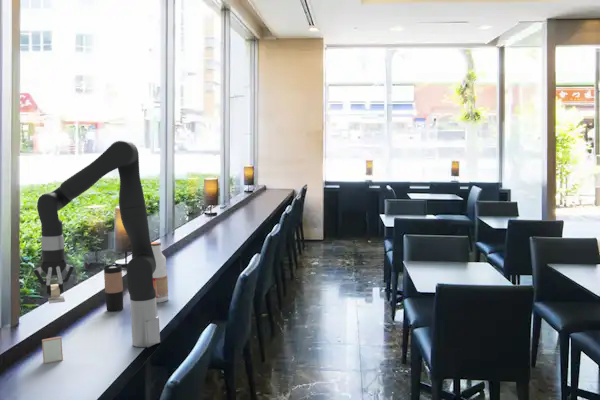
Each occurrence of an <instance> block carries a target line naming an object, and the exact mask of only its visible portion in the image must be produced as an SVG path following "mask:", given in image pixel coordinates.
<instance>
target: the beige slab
mask: <svg viewBox="0 0 600 400" xmlns="http://www.w3.org/2000/svg"><path fill="white" fill-rule="evenodd" d="M50 285H51V295H50V297H48V298H47V299H48V304H58V303H65V302H66V299H65V296H64V295H61V294H60V288H59V286H58V283H55V284H50Z"/></svg>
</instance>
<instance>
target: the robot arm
mask: <svg viewBox="0 0 600 400" xmlns="http://www.w3.org/2000/svg"><path fill="white" fill-rule="evenodd" d="M139 155H140V154H139V151H138V148H137V146H136V144H134V143H133V142H132V141H128V140H116V141H114V142H113V143H112V144H111V145H110V146H109V147H107V148H106V150H105V151H103V152H102V154H101V155H99V156H98V157H97V158H95V160H93V161H92V162H90V164H88V165H87V166H85V167H84V168H82V169H80V170H79V171H77V172H76V173H75V174H73V175H71V176H70V177H69V178H67V179H65V180H64V181H63V182H62V183H61V184H60V186H59V187H58V188H56V189H54V190H53V191H51V192H47V193H43V194H42V195H40V196H39V198H38V200H37V202H36V208H37V214H38V218H39V221H40V224H41V227H40V229H41V241H40V242H41V245H40V246H41V247H40V248H41V265H40V266H39V267H38V268H34V269H33V273H34V275H35V276H36V278H37V280H38V281H39V282H40V285H45V287H46V288H45V289H46V294H47V295H48V296H51V285H52V284H51V278H52V277H53V276H57V280H58V283H57V284H58V286H59V288H60V295H62V293H63V292H64V284H65V283H66V282H68V281H69V280H70V277H71V274H72V273H73V270H74V266H73V265H70V264H67V262H66V257H65V256H66V255H65V239H64V230H63V229H64V228H63V221H62V219H59V212H58V211H60V210H62V209H63V208H65V207H66V206H67V205H68V204H69V203H71V202H72V201H73V200H74V199H77V198H78V197H79V196H81V195H83V193H85V192H86V191H88V190H89V189H90V188H92V187H93V186H94V185H95V184H97V182H98V181H100V179H102V178H103V177H105V176H106V175H107V174H109V173H111V172H113V171H114V170H117V171H118V177H119V194H118V207H119V214H120V219H121V220H120V221H121V223H122V226H123V228H124V230H125V233H126V235H127V236H128V239H129V243H130V251H131V259H130V260H129V261H128V263H127V265H126V281H127V291H128V294H129V299H130V300H129V302H130V304H129V305H130V323H131V324H130V325H131V339H132V346H133V347H136V348H150V347H152V346H155V345H157V344H159V343H161V333H160V332H161V330H160V318H159V316H158V314H157V313H158V312H157V311H158V309H157V303H156V290H155V289H154V286H153V273H154V271H155V269H156V261H155V257H154V254H153V250H152V246H151V243H152V242H151V239H150V227H149V220H148V213H147V206H146V201H145V196H144V190H143V185H142V181H141V177H140V176H141V175H140V162H139V161H140V159H139V157H140V156H139ZM64 270H66V273H65V275H64V278H63V276H62V273H63V272H64ZM42 271H43V272H44V273H45V274H46V279H43V277H42V275H41V274H42Z"/></svg>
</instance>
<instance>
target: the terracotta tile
mask: <svg viewBox="0 0 600 400" xmlns="http://www.w3.org/2000/svg"><path fill="white" fill-rule="evenodd" d="M62 339H63V338H62V336H55V337H54V336H53V337H49V338H44V339H41V349H42V361H43V364H44V365H45V364H50V363H55V362H60V361H61V362H62V361H64V357H63V356H64V354H63V345H62V344H63V342H62V341H63V340H62Z"/></svg>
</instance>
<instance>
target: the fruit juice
mask: <svg viewBox="0 0 600 400" xmlns="http://www.w3.org/2000/svg"><path fill="white" fill-rule="evenodd" d="M151 246H152V250H153V254H154V257H155V261H156V269H155V271H154V273H153V286H154V289H155V290H156V304H157V303H164V302H166V301H168V300H169V286H168V281H169V280H168V270H167V267H166V265H167V257H166V256H165V255H164V254H163V251H162V249H161V246H162V243H161V242H160V241H153V242H151Z"/></svg>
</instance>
